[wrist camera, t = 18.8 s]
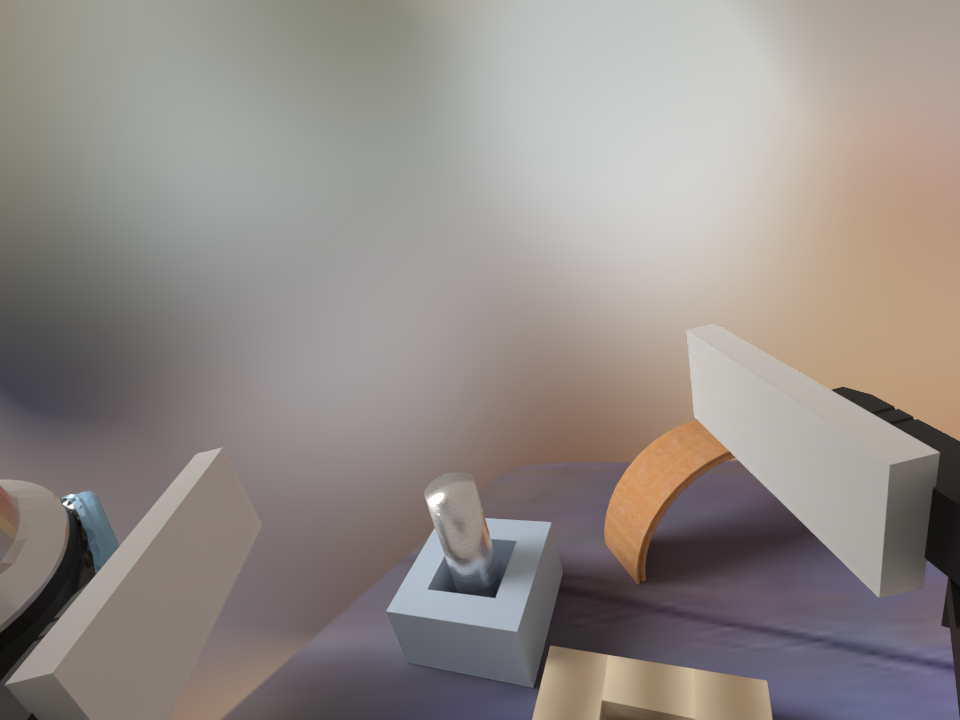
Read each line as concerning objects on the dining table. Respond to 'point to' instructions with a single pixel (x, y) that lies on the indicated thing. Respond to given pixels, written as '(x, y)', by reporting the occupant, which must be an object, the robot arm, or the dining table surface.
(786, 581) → the dining table surface
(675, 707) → the birch block
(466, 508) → the steel axle
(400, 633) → the slate holder block
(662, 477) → the arch
